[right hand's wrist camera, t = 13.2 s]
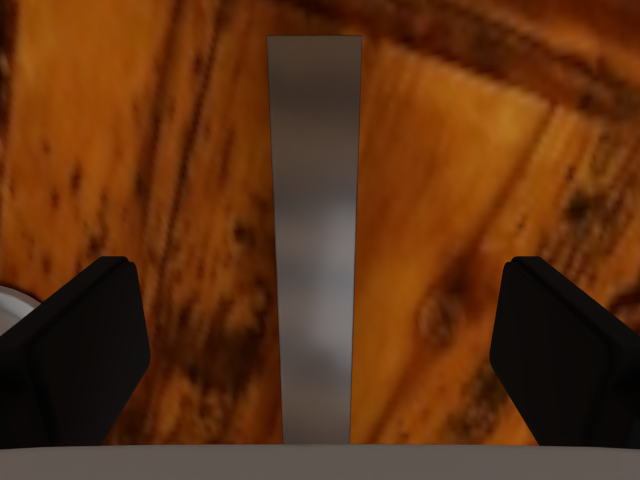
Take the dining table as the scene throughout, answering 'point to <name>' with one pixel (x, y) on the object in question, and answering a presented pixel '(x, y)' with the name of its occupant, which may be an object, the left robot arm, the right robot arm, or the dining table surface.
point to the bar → (315, 227)
